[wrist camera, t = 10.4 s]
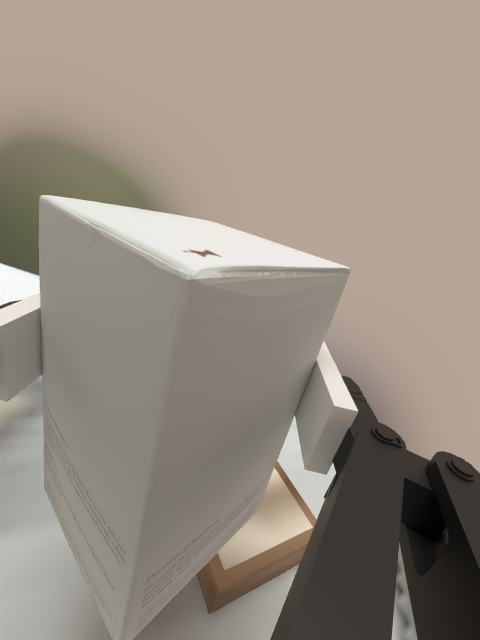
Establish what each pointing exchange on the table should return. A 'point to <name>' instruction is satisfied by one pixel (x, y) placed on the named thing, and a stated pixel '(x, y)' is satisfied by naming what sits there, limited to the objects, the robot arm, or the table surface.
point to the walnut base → (260, 544)
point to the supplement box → (166, 388)
